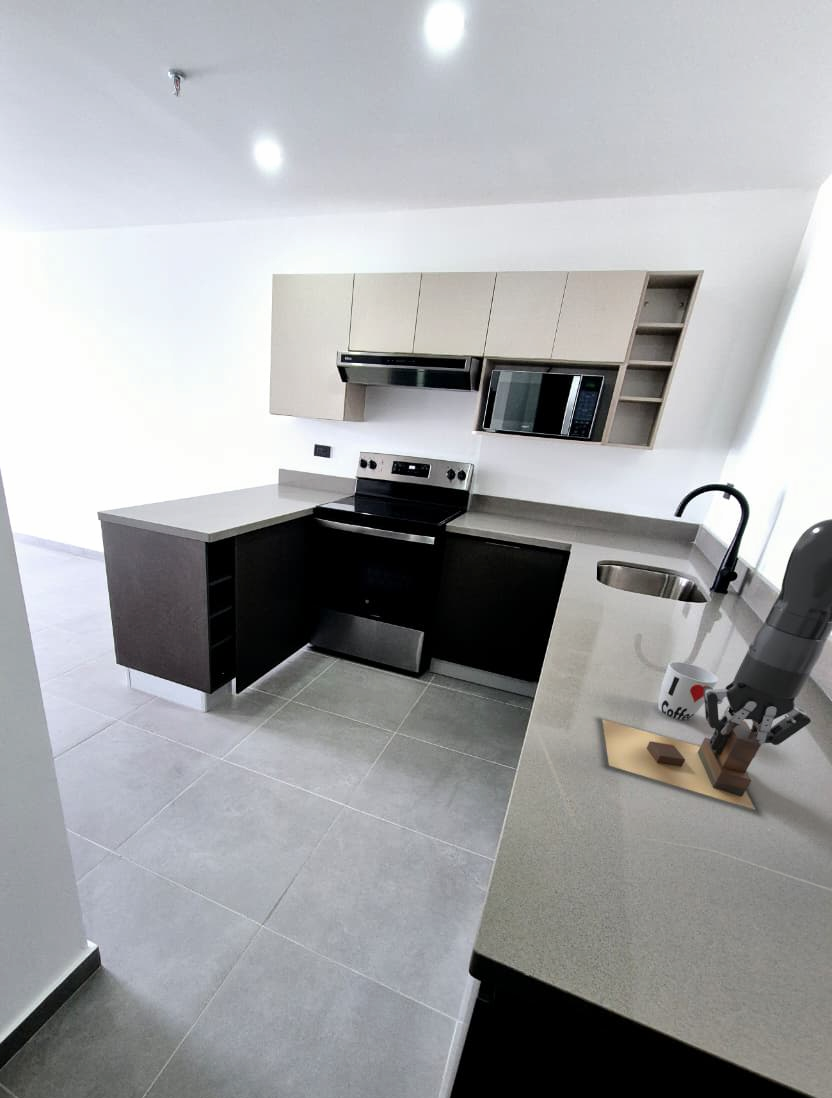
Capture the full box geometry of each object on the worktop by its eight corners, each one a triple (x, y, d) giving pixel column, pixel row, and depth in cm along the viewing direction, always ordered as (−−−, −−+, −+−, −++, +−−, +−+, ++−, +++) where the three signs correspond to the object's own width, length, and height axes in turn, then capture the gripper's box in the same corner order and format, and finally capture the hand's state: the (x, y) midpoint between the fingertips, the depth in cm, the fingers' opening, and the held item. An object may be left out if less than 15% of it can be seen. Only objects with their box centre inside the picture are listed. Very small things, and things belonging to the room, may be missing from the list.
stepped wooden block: (723, 760, 84) (746, 717, 81) (742, 796, 76) (768, 751, 72) (697, 752, 85) (718, 710, 82) (712, 787, 77) (736, 742, 73)
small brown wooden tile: (670, 752, 84) (673, 744, 84) (681, 767, 81) (685, 759, 80) (646, 748, 85) (649, 740, 84) (656, 762, 81) (660, 755, 80)
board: (723, 758, 86) (726, 753, 86) (752, 814, 74) (755, 809, 73) (600, 723, 92) (602, 719, 92) (607, 770, 79) (609, 765, 79)
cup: (647, 716, 97) (667, 670, 93) (651, 700, 103) (670, 657, 99) (695, 733, 93) (718, 687, 89) (696, 716, 99) (718, 672, 95)
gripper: (731, 655, 71) (683, 754, 78) (852, 683, 67) (789, 784, 74) (717, 637, 77) (674, 730, 84) (826, 661, 73) (771, 756, 80)
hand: (728, 755), depth 79 cm, fingers closed on stepped wooden block, 3 cm apart
